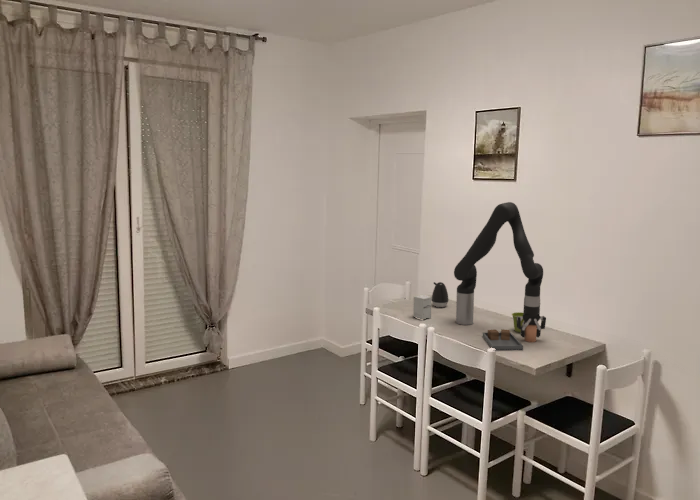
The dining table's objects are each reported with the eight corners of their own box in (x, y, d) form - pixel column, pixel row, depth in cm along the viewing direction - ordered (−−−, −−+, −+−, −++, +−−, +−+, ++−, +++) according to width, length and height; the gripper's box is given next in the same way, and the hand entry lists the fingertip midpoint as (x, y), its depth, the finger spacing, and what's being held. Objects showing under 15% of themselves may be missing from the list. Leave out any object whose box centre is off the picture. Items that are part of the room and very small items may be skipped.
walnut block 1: (487, 337, 262) (487, 329, 261) (495, 337, 263) (495, 329, 262) (490, 340, 258) (491, 332, 257) (498, 339, 259) (498, 331, 258)
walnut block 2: (500, 337, 263) (501, 329, 262) (509, 337, 262) (509, 329, 261) (501, 339, 259) (501, 331, 258) (509, 340, 258) (509, 332, 257)
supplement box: (422, 320, 293) (422, 298, 291) (412, 318, 299) (413, 296, 297) (431, 318, 298) (431, 296, 296) (421, 315, 303) (422, 294, 301)
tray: (482, 336, 265) (482, 332, 265) (510, 336, 265) (510, 332, 265) (492, 350, 246) (493, 345, 245) (522, 350, 246) (523, 345, 245)
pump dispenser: (438, 303, 330) (439, 279, 328) (451, 306, 322) (452, 282, 320) (427, 306, 323) (428, 282, 321) (440, 309, 316) (441, 284, 313)
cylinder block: (522, 338, 262) (523, 323, 261) (533, 338, 262) (534, 323, 261) (526, 342, 257) (527, 326, 255) (537, 342, 257) (538, 326, 255)
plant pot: (531, 329, 276) (532, 313, 274) (527, 334, 268) (528, 318, 266) (513, 327, 280) (514, 311, 279) (509, 332, 272) (509, 315, 271)
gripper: (543, 302, 260) (542, 334, 263) (514, 302, 260) (513, 334, 263) (549, 306, 253) (547, 339, 255) (519, 306, 253) (518, 339, 255)
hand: (530, 336), depth 259 cm, fingers open, 6 cm apart
